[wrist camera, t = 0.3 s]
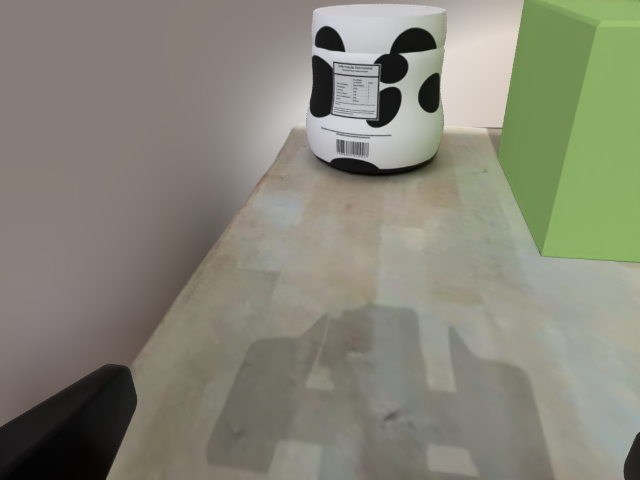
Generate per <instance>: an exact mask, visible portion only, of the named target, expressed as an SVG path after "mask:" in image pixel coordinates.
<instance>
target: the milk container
mask: <svg viewBox="0 0 640 480" xmlns="http://www.w3.org/2000/svg"><path fill="white" fill-rule="evenodd" d="M445 39H446V11H445V9H443V8H439V7H432V6H423V5H406V4H358V5H340V6H330V7H324V8H319V9H316V10H314V12H313V19H312V44H313V45H312V69H313V87H312V94H311V98H310V103H309V107H308V112H307V118H306V129H307V136H308V141H309V145H310V148H311V150H312V151H313V153H314V155H315V156H316V157H317V158H318V159H320V160H321V161H323V162H325V163H327V164H329V165H330V166H332V167H336V168H340V169H343V170H347V171H353V172H362V173H393V172H399V171H405V170H410V169H413V168H415V167H417V166H420V165H422V164H424V163H426V162H428V161H429V160H430V159H431V158H432V157H433V156H434V155H435V153H436V152H437V150H438V147H439V145H440V141H441V138H442V133H443V127H444V115H443V108H442V102H441V94H440V82H441V72H442V65H443V58H444V44H445Z"/></svg>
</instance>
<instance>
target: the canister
mask: <svg viewBox="0 0 640 480" xmlns="http://www.w3.org/2000/svg"><path fill="white" fill-rule="evenodd" d="M498 159H499V162H500V164H501V166H502V168H503V171H504V173H505V175H506V178H507V180H508V182H509V184H510V187H511V189H512V191H513V193H514V196H515V198H516V200H517V202H518V205H519V207H520V209H521V211H522V214H523V216H524V218H525V220H526V223H527V225H528V227H529V229H530V232H531V234H532V236H533V238H534V240H535V243H536V245H537V247H538V249H539V252H540V254H541V256H548V257H564V258H580V259H596V260H613V261H629V262H640V0H524V5H523V11H522V17H521V23H520V28H519V34H518V40H517V46H516V52H515V58H514V63H513V70H512V76H511V81H510V87H509V93H508V99H507V105H506V111H505V117H504V122H503V128H502V134H501V140H500V146H499V151H498Z"/></svg>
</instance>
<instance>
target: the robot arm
mask: <svg viewBox="0 0 640 480" xmlns="http://www.w3.org/2000/svg"><path fill="white" fill-rule="evenodd" d="M136 405H137V395H136V391H135V387H134V383H133V379H132V375H131V371H130V369H129V368H128V367H126V366H123V365H114V364H107V365H104V366H102V367H101V368H99V369H97V370H95V371H94V372H92V373H90V374H89V375H87V376H85V377H84V378H82V379H80V380H79V381H77V382H75V383H74V384H72V385H70V386H69V387H67V388H65V389H64V390H62V391H60V392H58V393H57V394H55V395H53V396H52V397H50V398H48V399H47V400H45V401H43V402H42V403H40V404H38V405H37V406H35V407H33V408H32V409H30V410H28V411H27V412H25V413H23V414H22V415H20V416H18V417H17V418H15V419H13V420H11V421H10V422H8V423H6V424H5V425H3V426H1V427H0V480H106V478H107V476H108V474H109V471H110V469H111V467H112V464H113V462H114V459H115V457H116V455H117V452H118V450H119V447H120V445H121V443H122V440H123V438H124V435H125V433H126V431H127V428H128V426H129V424H130V421H131V419H132V416H133V414H134V412H135V409H136ZM624 479H625V480H640V432H639V433H638V434H637V435H636V437H635V439H634V442H633V444H632V446H631V449H630V451H629V454H628V456H627V458H626V461H625V464H624Z"/></svg>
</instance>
